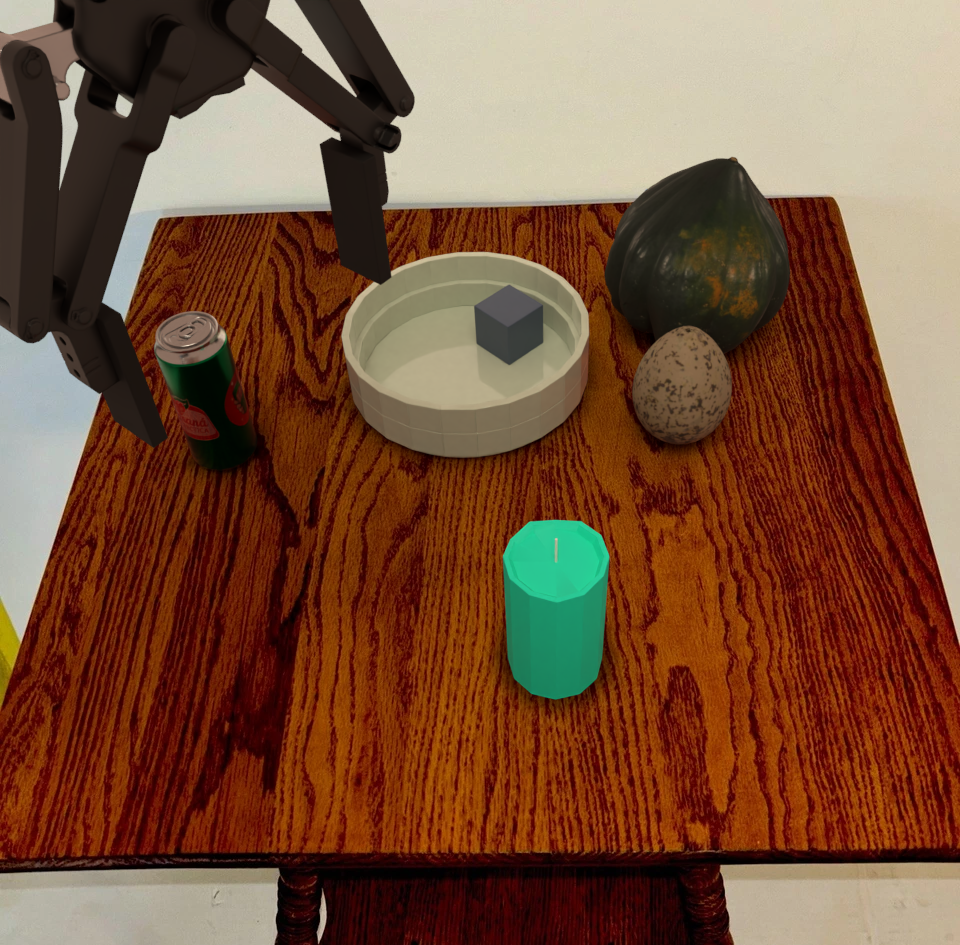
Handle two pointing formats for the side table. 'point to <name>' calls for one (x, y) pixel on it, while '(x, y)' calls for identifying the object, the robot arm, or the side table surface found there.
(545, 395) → the bowl
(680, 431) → the decorative egg
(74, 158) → the robot arm
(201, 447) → the soda can
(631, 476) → the side table surface
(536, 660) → the candle
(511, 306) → the block
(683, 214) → the squash
